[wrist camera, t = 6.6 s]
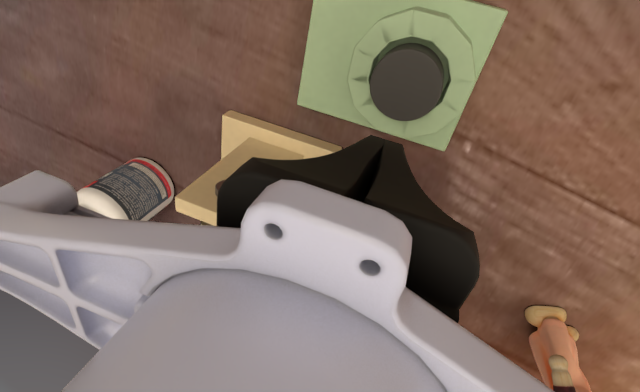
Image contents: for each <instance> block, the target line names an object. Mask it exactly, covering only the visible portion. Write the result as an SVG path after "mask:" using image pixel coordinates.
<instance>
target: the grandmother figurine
mask: <svg viewBox="0 0 640 392" xmlns="http://www.w3.org/2000/svg"><path fill="white" fill-rule="evenodd" d="M525 317H526V319H527V321H528V322H529V323H530V324H532V325H533V326H536V327H538V330H537V331H535V332H534V333H532V334H531V335H530V336H529V343H530V346H531V349H532V352H533V355H534V358H535V361H536V364H537V366H538V369H539V371H540V373H541V376H542V378H543V380H544V383H545V385H546V386H547V387H549V388H550V389H552V390H553V391H555V392H591V389H590V386H589V384H588V381H587V379H586V377H585V376H584V374H583V372H582V371H581V369H580V368H579V361H578V353H577V348H576V344H575V341H577V339H578V337H579V333H578V331H577V330H576V329H575V328H573V327H571V326H566V325H565V323H564V322H565V320H566V317H567V316H566V312H565V310H564V309H562V308H559V307H552V306H531V307H528V308H527V309H526V310H525Z"/></svg>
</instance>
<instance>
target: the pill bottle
mask: <svg viewBox="0 0 640 392" xmlns="http://www.w3.org/2000/svg"><path fill="white" fill-rule="evenodd" d="M77 196H78V202H79V206H82V207H84V208H87V209H89V210H92V211H94V212H97V213H100V214H102V215H105V216H107V217H110V218H112V219H126V220H139V221H149V220H150V219H151V218H152V217H154V216H155V215H156V214H157V213H159V212H160V211H161V210H162V209H163V208H165V207H166V206H167V205H168V204H169V203H170V202H171V201H172V200H173V197H174V186H173V183H172V181H171V179H170V177H169V175H168V174H167V173H166V171H165V170H164V169H163V168H162V167H161V166H159V165H158V164H157V163H155V162H154V161H152V160H149V159H146V158H134V159H132V160H130V161H128V162H126V163H125V164H123V165H121V166H119V167H118V168H116V169H114V170H113V171H111V172H109V173H108V174H106V175H104V176H103V177H101V178H99V179H97V180H96V181H94V182H92V183H91V184H89V185H87V186H85V187H84V188H82V189H81V190H79V191H78V192H77Z"/></svg>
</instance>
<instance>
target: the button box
mask: <svg viewBox="0 0 640 392" xmlns="http://www.w3.org/2000/svg"><path fill="white" fill-rule="evenodd" d="M507 13H508V11H507V10H506V9H504V8H500V7H496V6H492V5H488V4H484V3H480V2H476V1H472V0H313V6H312V13H311V19H310V25H309V32H308V38H307V44H306V50H305V57H304V63H303V69H302V75H301V82H300V88H299V94H298V101H297V105H300V106H303V107H306V108H309V109H313V110H316V111H319V112H322V113H325V114H328V115H331V116H335V117H338V118H341V119H344V120H347V121H350V122H353V123H356V124H360V125H363V126H366V127H369V128H372V129H375V130H378V131H381V132H384V133H388V134H391V135H394V136H397V137H400V138H403V139H407V140H410V141H413V142H416V143H419V144H422V145H425V146H429V147H432V148H435V149H438V150H441V151H445V149H446V147H447V145H448V143H449V141H450V138H451V136H452V134H453V132H454V130H455V127H456V125H457V123H458V121H459V119H460V116H461V114H462V112H463V110H464V108H465V105H466V103H467V101H468V99H469V97H470V94H471V92H472V90H473V88H474V86H475V83H476V81H477V79H478V77H479V75H480V72H481V70H482V68H483V66H484V64H485V61H486V59H487V57H488V55H489V53H490V50H491V48H492V46H493V44H494V42H495V39H496V37H497V35H498V33H499V31H500V28H501V26H502V24H503V22H504V20H505V17H506V15H507ZM405 43H418V44H422V45H425V46H427V47H429V48H430V49H431V50H433V51H434V52H435V53H436V54H437V56H438V57H439V59H440V60H441V62H442V65H443V69H444V83H443V89H442V94H441V97H440V99H439V101H438V103H437V104H436V106H435V107H434V108H433V109H432V110H431V111H430V112H429V113H428V114H426V115H425V116H423V117H421V118H419V119H416V120H412V121H398V120H394V119H391V118H389V117H387V116H385V115H384V114H383V113H381V112H380V111H379V110H378V108H377V107H376V106H375V104H374V102H373V100H372V97H371V94H370V79H371V75H372V72H373V70H374V68H375V66H376V65H377V64H378V62H379V61H380V60H381V59H382V58H383V57H384V55H385V54H386V53H387V52H388V51H390V50H391V49H393V48H394V47H396V46H398V45H401V44H405Z"/></svg>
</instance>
